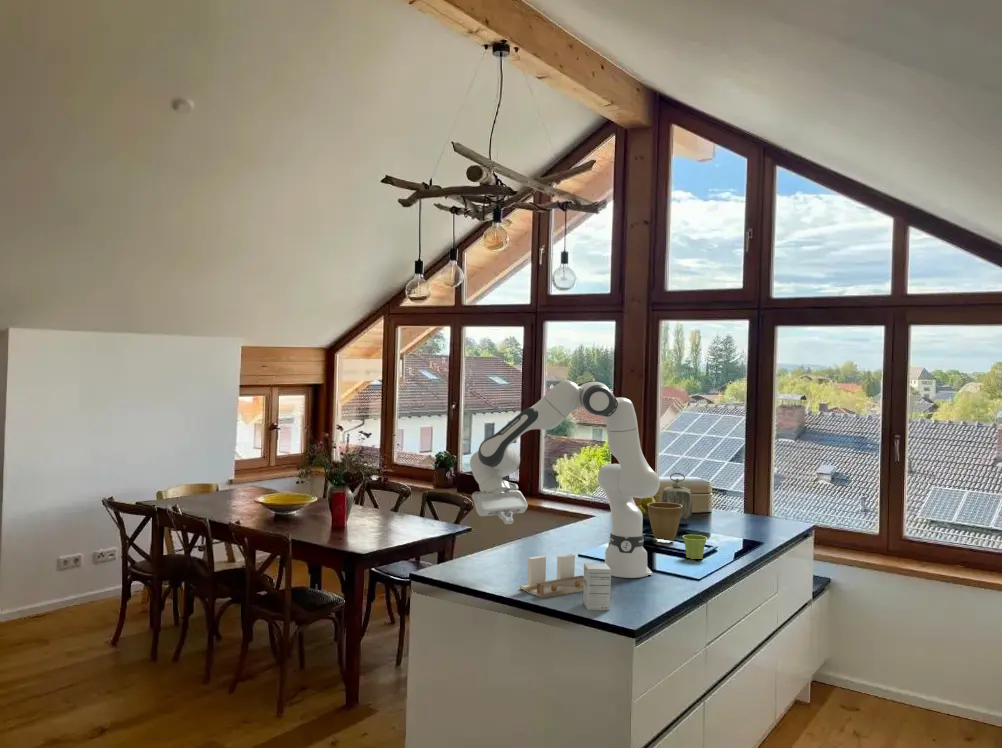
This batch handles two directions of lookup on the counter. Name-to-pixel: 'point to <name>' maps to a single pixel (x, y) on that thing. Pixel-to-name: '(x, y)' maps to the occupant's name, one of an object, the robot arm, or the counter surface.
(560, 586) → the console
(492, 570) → the counter surface
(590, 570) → the supplement box
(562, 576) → the block
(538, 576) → the white rectangular block
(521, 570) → the counter surface
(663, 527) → the plant pot
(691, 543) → the plant pot
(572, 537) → the counter surface
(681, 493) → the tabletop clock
